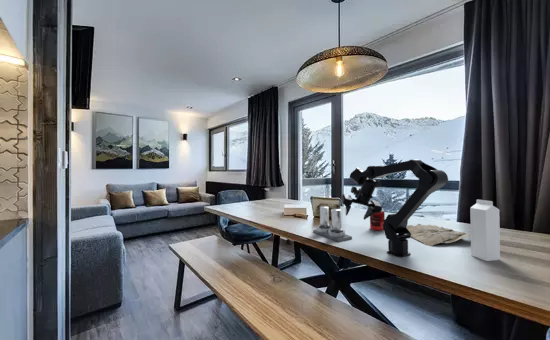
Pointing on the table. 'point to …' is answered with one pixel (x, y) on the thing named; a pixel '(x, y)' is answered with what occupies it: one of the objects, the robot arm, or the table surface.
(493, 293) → the table surface
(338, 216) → the billet
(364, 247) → the table surface
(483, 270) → the table surface
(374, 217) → the canned food
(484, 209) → the milk
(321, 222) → the grey cylinder holder
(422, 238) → the stone slab
